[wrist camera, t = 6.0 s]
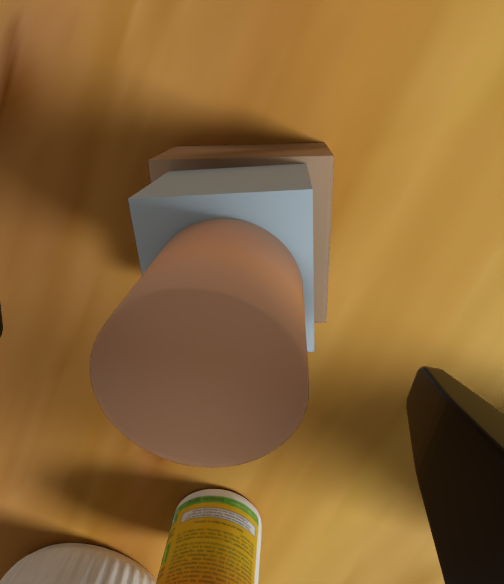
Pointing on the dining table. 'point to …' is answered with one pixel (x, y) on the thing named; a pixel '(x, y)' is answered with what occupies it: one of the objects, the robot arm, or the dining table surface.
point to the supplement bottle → (213, 541)
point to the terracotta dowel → (208, 348)
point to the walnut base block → (265, 155)
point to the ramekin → (77, 567)
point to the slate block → (232, 212)
